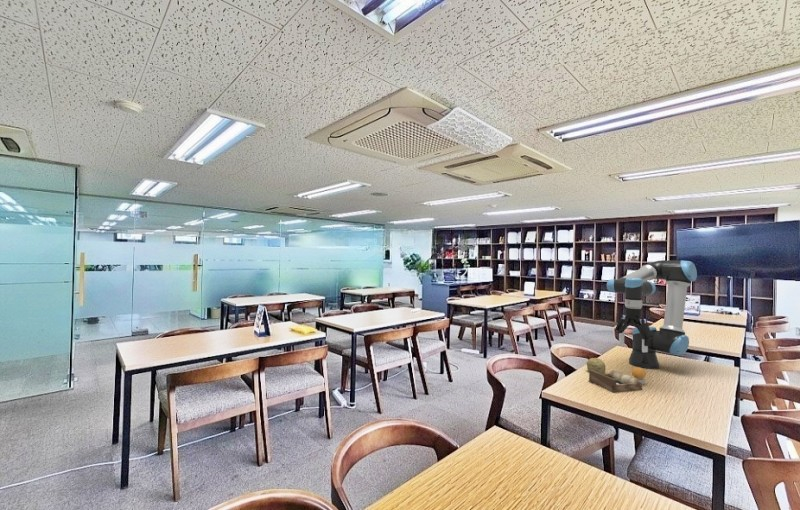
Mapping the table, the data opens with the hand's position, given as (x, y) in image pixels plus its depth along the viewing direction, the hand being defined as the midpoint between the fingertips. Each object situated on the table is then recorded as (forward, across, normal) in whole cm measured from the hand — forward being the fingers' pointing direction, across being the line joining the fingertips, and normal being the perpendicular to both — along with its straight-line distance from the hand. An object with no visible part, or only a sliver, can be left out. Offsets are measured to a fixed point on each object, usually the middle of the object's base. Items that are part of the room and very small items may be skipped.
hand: (632, 348), depth 180 cm
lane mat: (+18, +2, -13) cm, 22 cm away
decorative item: (+18, -17, -6) cm, 26 cm away
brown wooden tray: (+18, +2, -13) cm, 22 cm away
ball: (+12, +2, +2) cm, 13 cm away
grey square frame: (+18, +2, +2) cm, 18 cm away
